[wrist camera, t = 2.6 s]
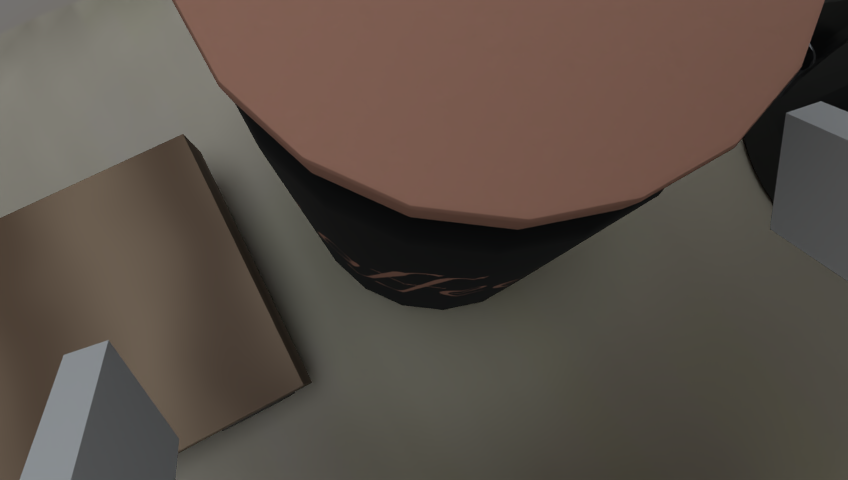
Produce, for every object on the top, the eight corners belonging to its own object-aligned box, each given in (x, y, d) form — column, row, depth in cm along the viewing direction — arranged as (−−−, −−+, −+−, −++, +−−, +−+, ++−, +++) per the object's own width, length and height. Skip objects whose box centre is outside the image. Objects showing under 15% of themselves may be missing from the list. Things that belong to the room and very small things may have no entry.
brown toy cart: (222, 174, 27) (183, 134, 22) (322, 379, 25) (303, 384, 20) (-90, 322, 25) (-210, 314, 20) (-3, 550, 23) (-109, 603, 19)
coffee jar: (266, 224, 26) (-4, -39, 9) (401, 39, 28) (405, -487, 11) (471, 360, 26) (631, 375, 8) (595, 161, 28) (949, -184, 10)
